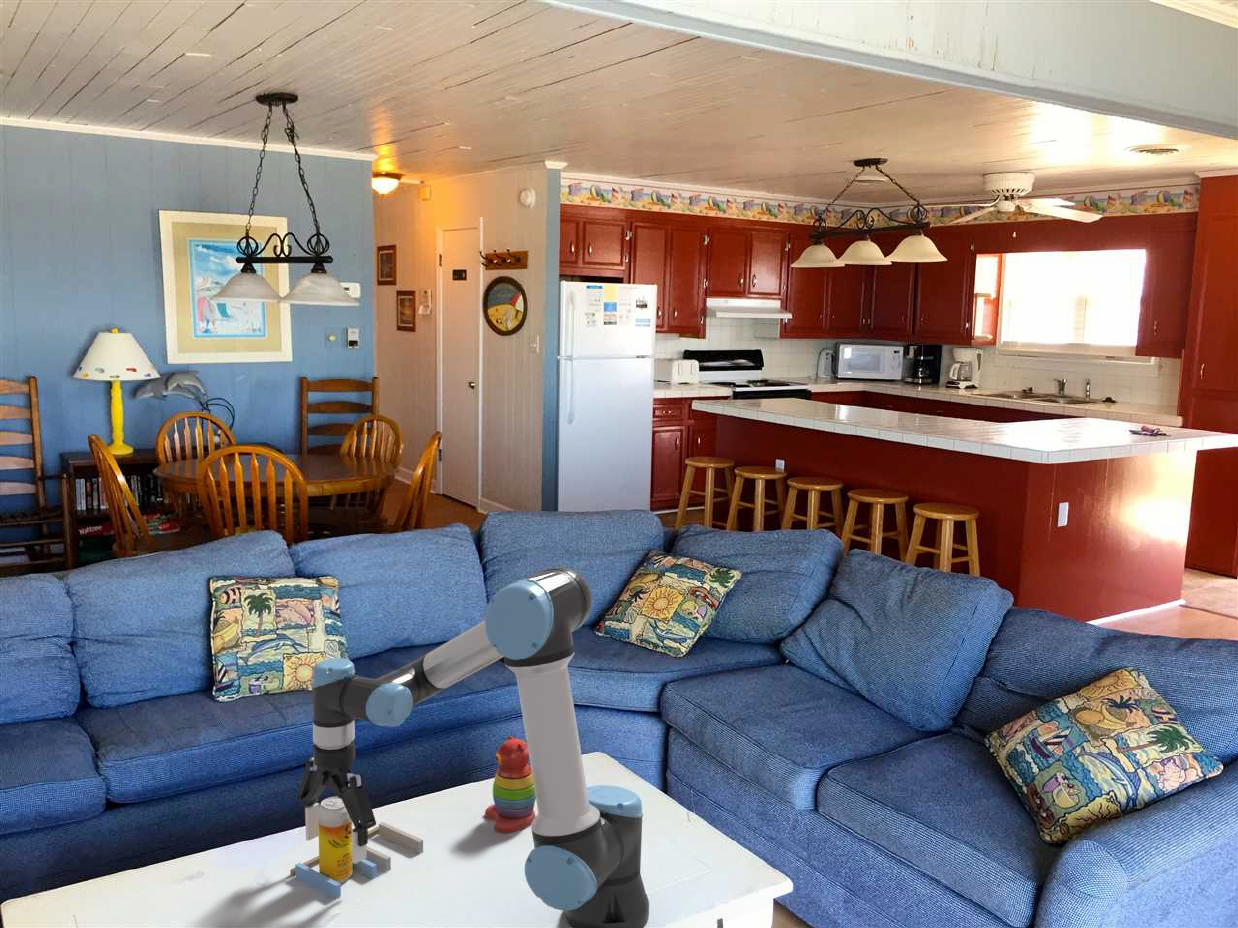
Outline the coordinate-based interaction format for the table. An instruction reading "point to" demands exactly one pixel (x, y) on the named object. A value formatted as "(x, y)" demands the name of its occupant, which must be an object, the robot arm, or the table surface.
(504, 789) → the stacking bear
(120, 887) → the table surface
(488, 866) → the table surface
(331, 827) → the beer can
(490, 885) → the table surface
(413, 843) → the rack
